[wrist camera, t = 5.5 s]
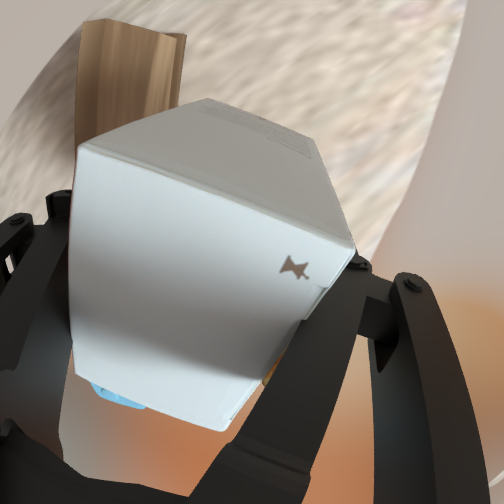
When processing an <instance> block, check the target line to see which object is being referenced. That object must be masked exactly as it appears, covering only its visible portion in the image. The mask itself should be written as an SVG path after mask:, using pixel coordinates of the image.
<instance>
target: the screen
mask: <svg viewBox="0 0 504 504" xmlns="http://www.w3.org/2000/svg"><path fill="white" fill-rule="evenodd" d="M186 37H187V35H185V34H161V33H158V32H155V31H152V30H148V29H145V28H141V27H138V26H134V25H130V24H126V23H122V22H118V21H114V20H110V19H100V20H93V21H87V22H83V25H82V32H81V40H80V48H79V57H78V68H77V81H76V99H75V161H76V153H77V148H78V146H79V145H80V144H82V143H84V142H86V141H88V140H90V139H92V138H94V137H97V136H99V135H101V134H104V133H106V132H109V131H111V130H114V129H116V128H119V127H121V126H123V125H126V124H129V123H131V122H134V121H137V120H140V119H143V118H146V117H149V116H152V115H154V114H157V113H160V112H163V111H166V110H169V109H172V108H176V107H178V98H179V89H180V81H181V73H182V65H183V58H184V50H185V44H186Z"/></svg>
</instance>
